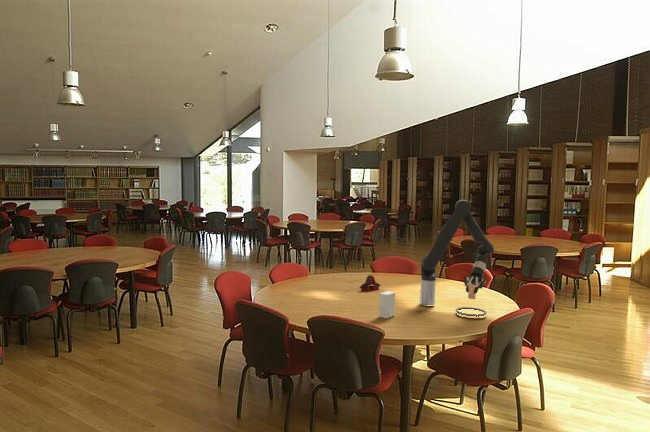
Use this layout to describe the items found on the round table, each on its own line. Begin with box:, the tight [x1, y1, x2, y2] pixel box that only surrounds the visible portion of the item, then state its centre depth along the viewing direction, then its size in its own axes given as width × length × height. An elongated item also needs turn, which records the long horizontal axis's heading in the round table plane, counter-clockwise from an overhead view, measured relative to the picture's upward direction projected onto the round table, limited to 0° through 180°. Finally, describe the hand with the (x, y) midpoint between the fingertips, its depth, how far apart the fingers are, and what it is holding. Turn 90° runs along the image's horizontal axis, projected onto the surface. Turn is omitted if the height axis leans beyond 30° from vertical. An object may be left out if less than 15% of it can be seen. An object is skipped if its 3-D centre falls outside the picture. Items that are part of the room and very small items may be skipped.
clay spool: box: [467, 284, 477, 300], centre depth 316 cm, size 4×4×8 cm
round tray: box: [455, 306, 488, 317], centre depth 317 cm, size 18×18×3 cm
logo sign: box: [359, 274, 382, 292], centre depth 378 cm, size 18×4×11 cm, turn 124°
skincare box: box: [378, 290, 396, 319], centre depth 308 cm, size 8×6×15 cm
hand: (470, 292), depth 314 cm, fingers closed on clay spool, 4 cm apart
